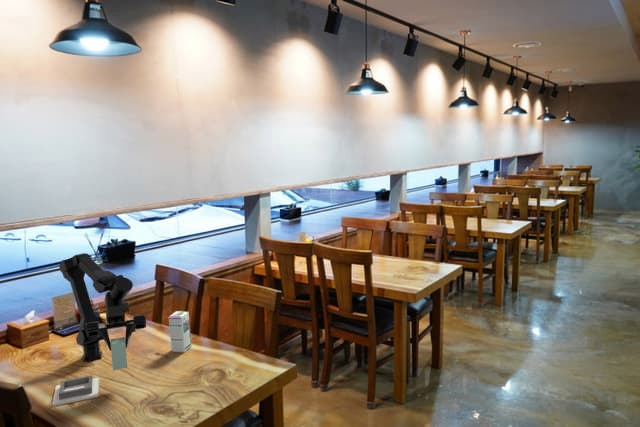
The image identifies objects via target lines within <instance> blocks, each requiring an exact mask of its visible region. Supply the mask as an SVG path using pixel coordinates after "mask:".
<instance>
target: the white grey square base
mask: <svg viewBox="0 0 640 427" xmlns="http://www.w3.org/2000/svg"><path fill="white" fill-rule="evenodd" d="M99 384H100V377H94V378H93V375H92V374H91V375H86V376H81V377H76V378H71V379H65V380H61V381H60V384H58V385H55V388H54V389H55V390H54V394H53V399H52V407H56V406H61V405H66V404H70V403H75V402H80V401H84V400H85V401H86V400H89V399H93V398H94V399H95V398H98V397H99V390H100V386H99Z"/></svg>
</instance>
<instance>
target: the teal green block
mask: <svg viewBox="0 0 640 427" xmlns="http://www.w3.org/2000/svg"><path fill="white" fill-rule="evenodd" d="M125 337H126V336H125ZM125 337H124V336H123V337H117V338H111V339H110V343H111V351H110V353H111V363H112V364H111V365H112V371H118V370H121V369H127V368H128V359H127V357H128V356H127V348H126V345H125Z"/></svg>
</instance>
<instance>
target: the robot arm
mask: <svg viewBox="0 0 640 427" xmlns="http://www.w3.org/2000/svg"><path fill="white" fill-rule="evenodd" d="M59 271H60V273H61V274H62V276H63V278H64V279H65V280H66V281H68V282H69V284H70V286H71V290H72V293H73V297H74V300H75V303H76V306H77V309H78V310H77V311H78V313H79V316H80V322H79V325H78V330H79V331H78V334H77V336H76V338H75V340H76V344H77V345H78V346H81V347H82V349H83V355H82V362H88V361H95V360H100V359H102V358H103V357H102V354H103V352H102V351H101V347H100V346H101V345H100V341H104V342H105V344H106V346H107V347H108V349H109V351H110V352H111V339H110V336H109V330H113V329H119V328H125V345H126V349H127V348H128V347H129V346H128V345H129V341H130V339H131V336H132V334H133V333H135V332H136V330H141V329H145V328H147V317H146V314H142V313H141V314H135V315H132V318H133V319H128V320H126V314H127V313H129V312H130V304H129V302H124V299H126V298H127V297H128V294H129V293H130V292H131V290H133V286H134V284H133V281H132V280H131V279H130V278H128V277H124V276H123V274H119V275H116V274H115V273H114V272H112V271H111V270H110V271H109V270H105V269H103V268H102V267H101V266H100V265H99V264H97V263H96V262H95V261H94V260H93V259H92V258H91V257H90V254H89V253H86V252H84V253H79V254H75V255H73V256H71V257H69V258H68V259H67V258H66V259H62V260H61V263H59ZM85 275H87V276H88V277H89V278H90V279H91V281H92V286H93V288H94V290H95V291H96V292H97V293H98V294H102V293H105V295H104V302H105V312H106V313H105V318H106V319H105V320H106V322H105V323H104V322H103V318H102V317H101V316H97V315H96V314H95V311H94V308H93V305H92V301H91V298H90V296H89V291H88V288H87V285H86V282H85V281H86V280H85Z"/></svg>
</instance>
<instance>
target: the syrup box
mask: <svg viewBox="0 0 640 427" xmlns="http://www.w3.org/2000/svg"><path fill="white" fill-rule="evenodd" d="M189 314H190V313H189V311H183V310H177V311H174V312H173V313H172V314H171V315H169V316H168V325H169V326H168V327H169V334H170V336H169V338H170V347H171V352H174V353H185V352H187V350H189V349H190V348H191V347H192V338H191V336H192V335H191V334H192V333H191V325H190V315H189Z"/></svg>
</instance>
